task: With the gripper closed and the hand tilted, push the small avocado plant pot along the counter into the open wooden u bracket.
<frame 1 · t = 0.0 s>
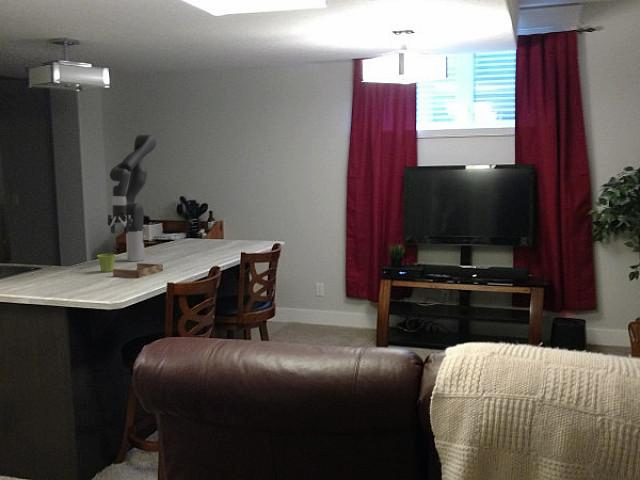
hand: (119, 233, 342), 17 cm above the table, tool pointing down, fingers open, 8 cm apart
plant pot: (107, 271, 320), on the table
wooden u bracket: (137, 273, 314), on the table
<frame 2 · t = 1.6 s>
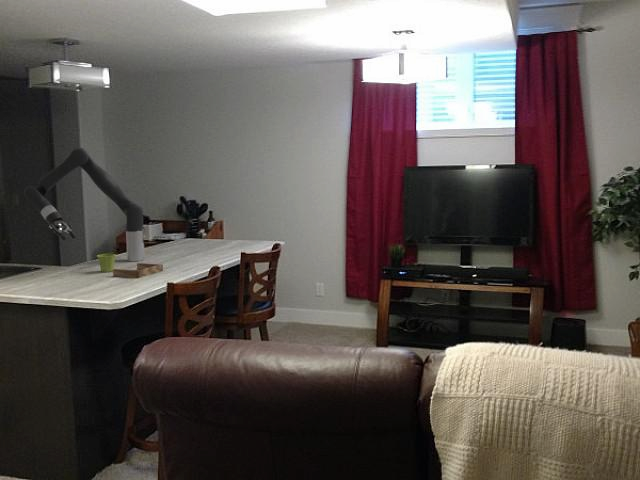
hand: (70, 238, 326), 16 cm above the table, tool tilted 45°, fingers open, 6 cm apart
nothing on the table moved.
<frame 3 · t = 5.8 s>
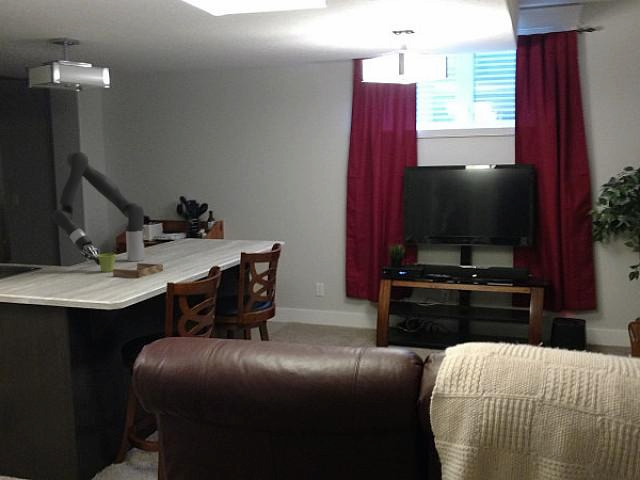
hand: (100, 263, 321), 4 cm above the table, tool tilted 45°, fingers closed
plant pot: (107, 271, 320), on the table, touching gripper
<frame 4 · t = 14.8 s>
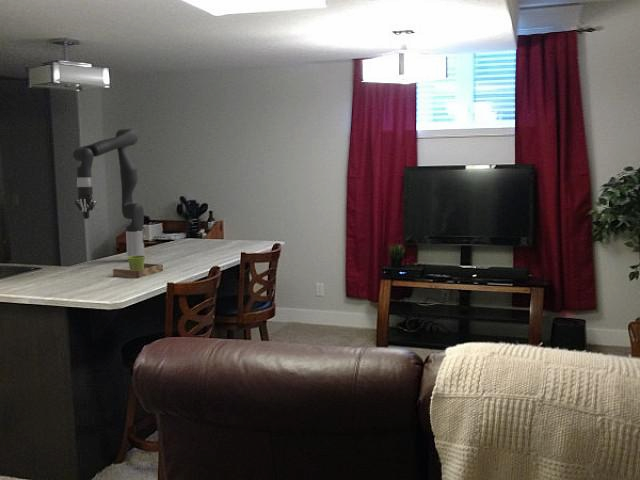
hand: (86, 218, 325), 27 cm above the table, tool pointing down, fingers closed
plant pot: (136, 273, 314), on the table
at the end: plant pot inside the target area on the wooden u bracket (0.6 cm from its centre), point 0.0 cm above the wooden u bracket's base; plant pot tilted 0° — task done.
